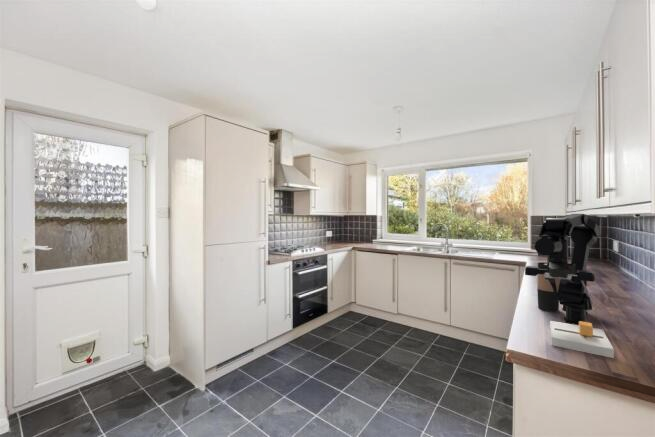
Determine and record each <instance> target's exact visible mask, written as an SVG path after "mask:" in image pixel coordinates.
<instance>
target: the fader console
mask: <svg viewBox="0 0 655 437" xmlns="http://www.w3.org/2000/svg"><path fill="white" fill-rule="evenodd" d="M549 331H550V340H551V346H554V347H559V348H563V349H568V350H573V351H579V352H583V353H587V354H592V355H597V356H600V357H601V356H602V357H606V358H612V359H615V349H614V347H613V346H612V343H611V342H610V340H609V339H608V336H607V334H606V333H605V331H604V329H603V328H602V329H601V328H596V327H593V337H590V336H585V335H580V333H579V325H576V324H570V323H565V322H560V321H554V320H550V321H549Z"/></svg>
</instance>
